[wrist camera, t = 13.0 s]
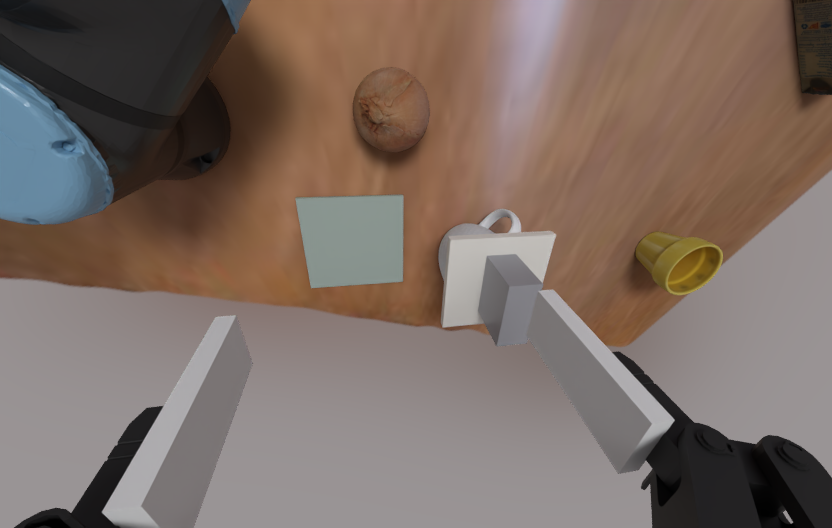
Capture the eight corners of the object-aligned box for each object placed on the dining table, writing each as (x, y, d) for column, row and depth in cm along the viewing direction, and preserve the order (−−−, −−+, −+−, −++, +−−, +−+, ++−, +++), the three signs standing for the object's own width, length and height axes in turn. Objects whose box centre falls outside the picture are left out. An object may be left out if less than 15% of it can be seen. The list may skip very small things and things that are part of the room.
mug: (473, 180, 50) (507, 210, 39) (518, 216, 54) (560, 251, 43) (417, 251, 55) (433, 295, 44) (463, 278, 59) (488, 324, 48)
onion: (361, 115, 45) (324, 126, 37) (393, 49, 40) (358, 45, 32) (413, 157, 46) (388, 176, 38) (452, 98, 41) (432, 106, 33)
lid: (440, 321, 46) (455, 365, 39) (448, 236, 39) (468, 270, 32) (528, 313, 48) (557, 353, 42) (551, 230, 41) (590, 261, 34)
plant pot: (626, 233, 60) (669, 258, 52) (678, 214, 60) (729, 236, 52) (624, 275, 66) (663, 303, 57) (671, 257, 65) (717, 283, 57)
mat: (311, 286, 55) (311, 288, 54) (296, 197, 47) (295, 198, 46) (402, 280, 57) (402, 281, 57) (402, 194, 49) (403, 195, 49)
